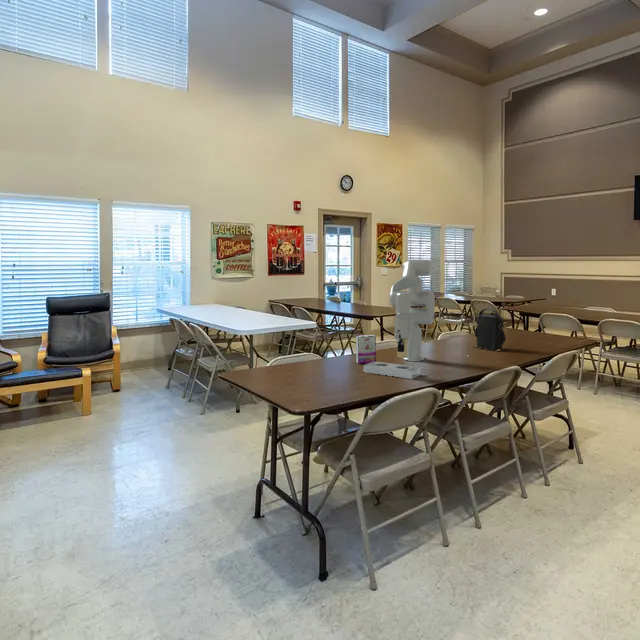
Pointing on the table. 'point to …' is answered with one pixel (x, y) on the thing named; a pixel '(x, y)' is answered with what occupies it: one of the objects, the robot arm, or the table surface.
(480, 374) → the table surface
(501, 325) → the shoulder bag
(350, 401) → the table surface
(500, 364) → the table surface
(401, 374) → the white holder tray
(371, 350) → the candy bar box
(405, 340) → the peg
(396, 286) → the robot arm
